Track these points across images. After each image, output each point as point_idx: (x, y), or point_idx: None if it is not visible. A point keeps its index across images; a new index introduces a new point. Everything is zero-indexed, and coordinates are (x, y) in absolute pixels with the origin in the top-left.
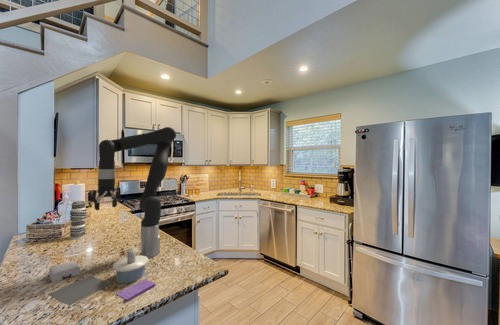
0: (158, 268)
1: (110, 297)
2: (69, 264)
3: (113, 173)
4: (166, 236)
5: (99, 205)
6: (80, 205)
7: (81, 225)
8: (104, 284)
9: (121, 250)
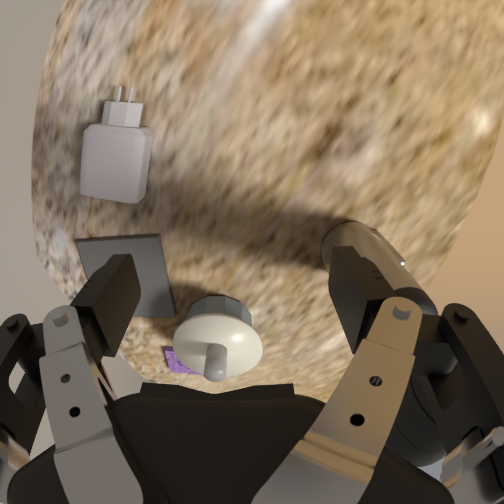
0: (287, 333)
1: (158, 340)
2: (120, 158)
3: None
4: (485, 168)
5: (125, 330)
6: None
7: None
8: (163, 307)
9: (340, 113)
